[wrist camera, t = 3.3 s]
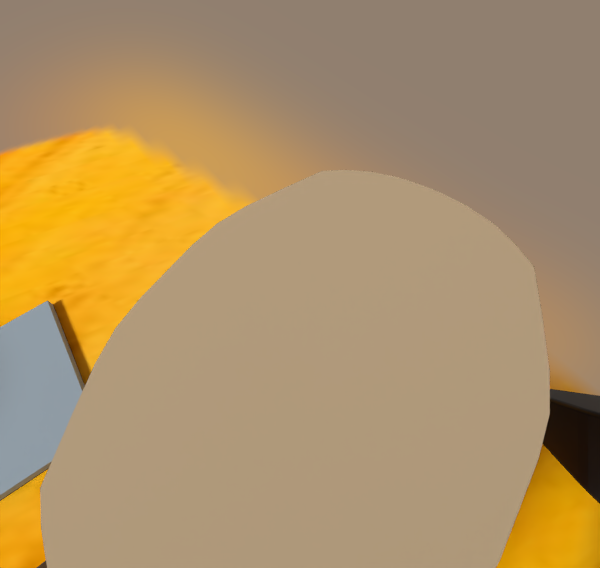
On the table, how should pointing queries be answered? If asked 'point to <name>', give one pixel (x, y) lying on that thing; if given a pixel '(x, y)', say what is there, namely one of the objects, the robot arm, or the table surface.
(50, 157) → the table surface
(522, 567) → the table surface
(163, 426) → the handle
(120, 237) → the table surface
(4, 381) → the mat
